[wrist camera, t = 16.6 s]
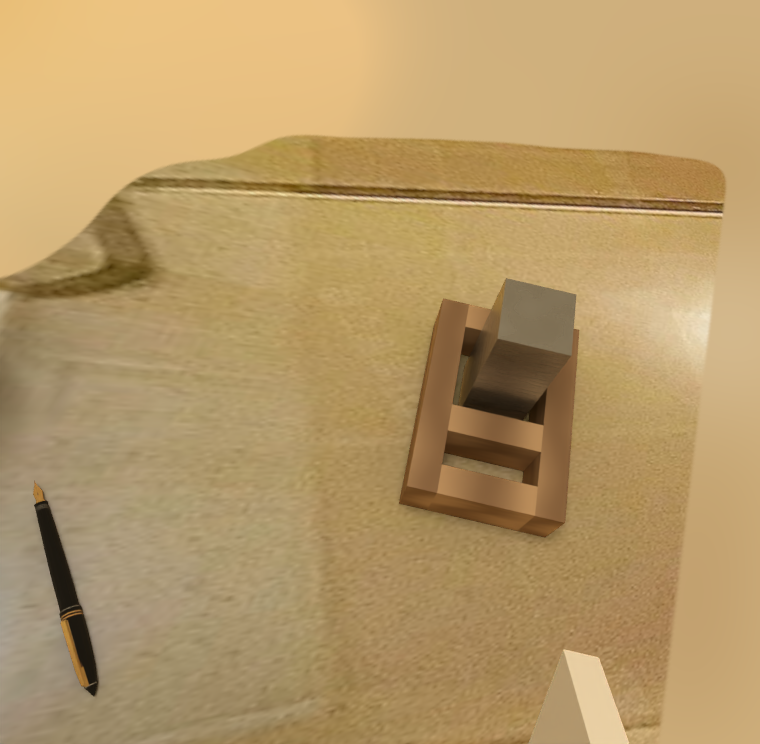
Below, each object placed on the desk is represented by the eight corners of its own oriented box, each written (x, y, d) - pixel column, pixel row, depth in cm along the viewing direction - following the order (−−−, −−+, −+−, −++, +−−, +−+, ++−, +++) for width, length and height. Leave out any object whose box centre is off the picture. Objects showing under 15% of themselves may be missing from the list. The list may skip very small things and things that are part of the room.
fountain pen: (29, 487, 44) (20, 480, 43) (47, 480, 45) (39, 473, 43) (87, 701, 39) (79, 701, 38) (107, 692, 39) (100, 691, 38)
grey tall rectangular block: (455, 418, 50) (497, 338, 39) (464, 367, 52) (506, 278, 41) (513, 431, 50) (571, 355, 39) (520, 379, 52) (576, 294, 41)
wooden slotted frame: (398, 503, 46) (407, 486, 43) (434, 325, 53) (443, 298, 50) (545, 537, 46) (565, 522, 43) (560, 355, 53) (579, 330, 50)
